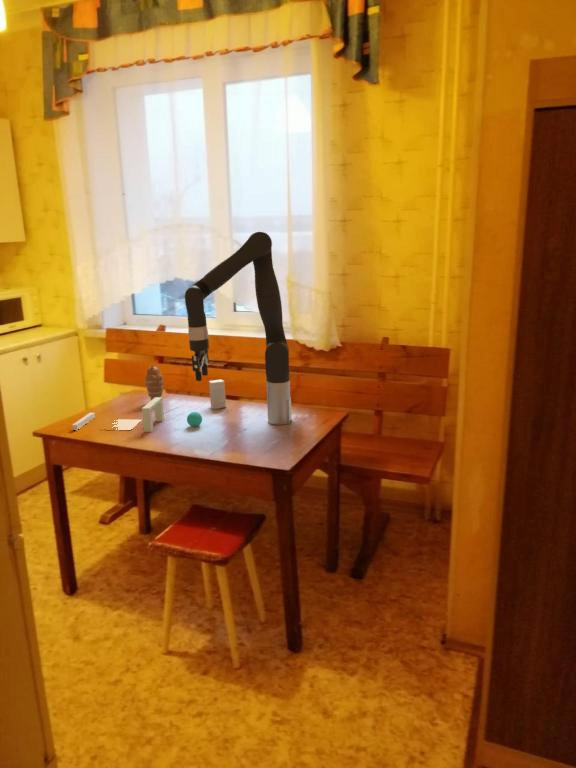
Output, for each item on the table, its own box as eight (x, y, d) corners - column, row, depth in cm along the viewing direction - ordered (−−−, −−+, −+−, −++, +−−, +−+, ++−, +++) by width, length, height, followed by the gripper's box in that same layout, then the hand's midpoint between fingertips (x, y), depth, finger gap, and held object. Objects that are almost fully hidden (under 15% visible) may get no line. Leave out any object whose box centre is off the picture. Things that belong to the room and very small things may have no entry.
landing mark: (142, 420, 249) (142, 419, 249) (130, 430, 237) (130, 430, 236) (112, 419, 251) (112, 419, 251) (99, 430, 238) (99, 429, 238)
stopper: (95, 418, 253) (94, 412, 253) (77, 430, 238) (76, 425, 237) (90, 418, 254) (90, 412, 253) (72, 430, 238) (72, 424, 238)
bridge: (164, 419, 249) (162, 397, 246) (151, 432, 234) (149, 408, 232) (157, 419, 249) (155, 397, 247) (144, 431, 235) (141, 408, 232)
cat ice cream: (161, 406, 267) (158, 367, 262) (144, 406, 268) (140, 367, 263) (167, 400, 276) (164, 362, 271) (151, 400, 276) (147, 362, 272)
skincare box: (223, 404, 267) (222, 379, 264) (226, 407, 263) (224, 381, 260) (210, 406, 265) (208, 380, 261) (213, 409, 261) (211, 382, 258)
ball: (204, 424, 242) (203, 410, 240) (200, 429, 236) (199, 414, 234) (190, 423, 243) (188, 409, 241) (185, 428, 237) (184, 414, 235)
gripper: (202, 341, 225) (206, 382, 229) (212, 334, 238) (216, 373, 243) (183, 341, 226) (187, 382, 230) (194, 334, 239) (198, 373, 244)
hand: (202, 378), depth 236 cm, fingers open, 8 cm apart
